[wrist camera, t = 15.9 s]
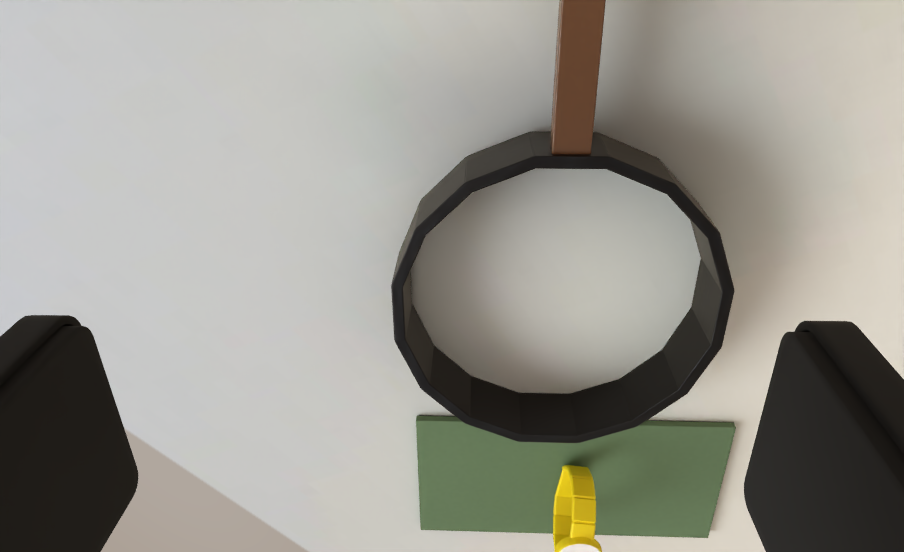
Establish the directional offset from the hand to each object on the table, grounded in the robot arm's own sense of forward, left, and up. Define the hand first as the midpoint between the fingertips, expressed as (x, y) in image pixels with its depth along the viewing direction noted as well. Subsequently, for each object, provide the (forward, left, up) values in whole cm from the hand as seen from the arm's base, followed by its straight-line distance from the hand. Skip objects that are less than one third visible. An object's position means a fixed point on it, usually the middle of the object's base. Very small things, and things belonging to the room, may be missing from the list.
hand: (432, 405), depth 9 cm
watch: (-7, +28, -26) cm, 38 cm away
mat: (-7, +28, -26) cm, 39 cm away
